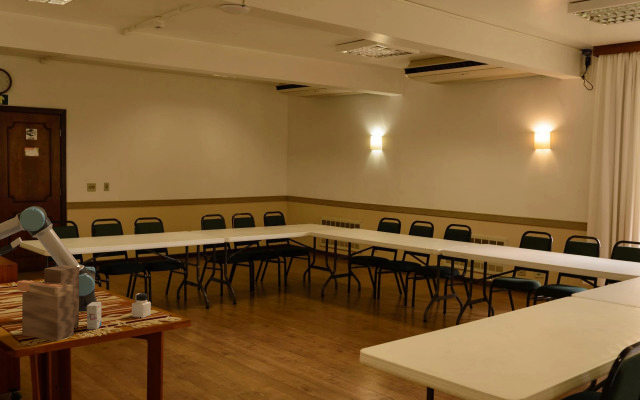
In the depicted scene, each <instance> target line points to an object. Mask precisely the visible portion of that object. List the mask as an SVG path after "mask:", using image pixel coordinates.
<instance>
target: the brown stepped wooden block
mask: <svg viewBox="0 0 640 400" xmlns="http://www.w3.org/2000/svg"><path fill="white" fill-rule="evenodd" d="M43 270H44V273H43V276H44V277H43V281H42V283H50V284H58V285H64V286H61V287H50V286H43V285H35V284H31V285H30V292H29V291H23V292H22V293H21V296H22V297H21V298H22V299H21V301H22V302H21V303H22V304H21V307H22V313H21V315H22V316H21V317H22V319H21V321H22V322H21V328H22V329H21V330H22V332H21V335H22V336H25V337H30V338H31V337H33V338H38V339H45V340H49V341H56V342H58V341H59V342H60V341H62V340H65V339H67V338H70V337H74V330H75V329H78V328H79V326H80V325H79V323H80V321H79V320H80V319H79V318H80V311H79V267H76V266H67V265H61V266H58V265H55V266H50V267H46V268H44V269H43ZM77 327H78V328H77ZM74 328H75V329H74Z"/></svg>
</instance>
